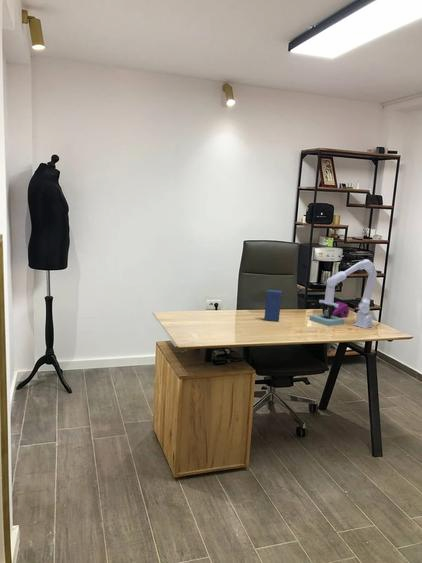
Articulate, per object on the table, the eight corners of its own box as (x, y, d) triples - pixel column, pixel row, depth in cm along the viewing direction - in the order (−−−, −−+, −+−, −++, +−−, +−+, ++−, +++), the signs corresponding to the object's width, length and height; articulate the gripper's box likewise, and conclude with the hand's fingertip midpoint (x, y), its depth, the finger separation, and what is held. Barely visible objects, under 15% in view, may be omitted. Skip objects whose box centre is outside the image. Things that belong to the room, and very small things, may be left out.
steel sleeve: (331, 319, 311) (332, 309, 309) (327, 320, 308) (328, 310, 307) (325, 318, 314) (326, 308, 313) (322, 319, 311) (323, 308, 310)
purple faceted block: (331, 326, 323) (350, 314, 329) (328, 316, 320) (347, 304, 326) (322, 323, 331) (340, 311, 338) (319, 313, 328) (338, 301, 335)
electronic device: (278, 320, 307) (281, 290, 304) (278, 321, 302) (281, 291, 299) (264, 318, 308) (267, 289, 304) (264, 320, 303) (267, 290, 299)
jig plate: (343, 323, 310) (344, 319, 309) (328, 326, 300) (328, 321, 300) (324, 317, 322) (325, 313, 322) (309, 320, 313) (310, 315, 312)
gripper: (317, 293, 311) (315, 313, 314) (334, 298, 300) (332, 318, 302) (324, 293, 316) (321, 312, 318) (341, 297, 304) (339, 317, 307)
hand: (327, 315), depth 311 cm, fingers closed on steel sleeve, 4 cm apart
